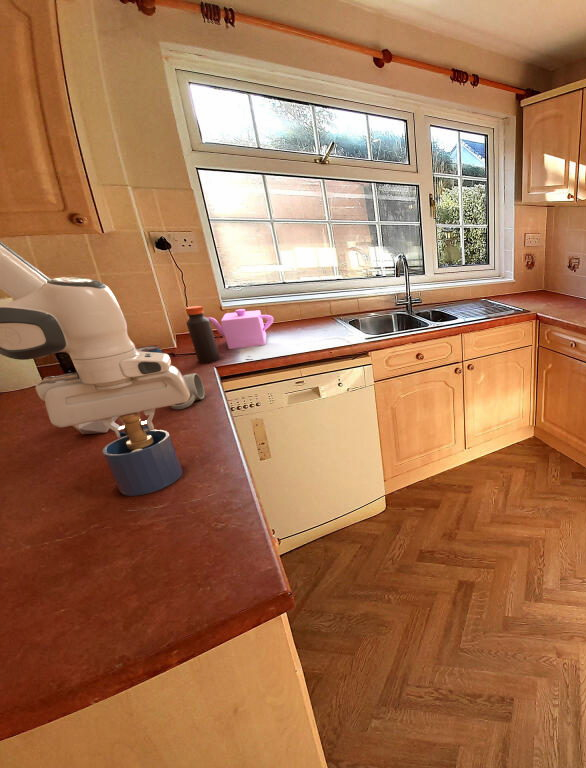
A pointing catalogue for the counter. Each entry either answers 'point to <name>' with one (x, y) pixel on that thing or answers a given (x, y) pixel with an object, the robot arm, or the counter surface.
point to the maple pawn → (135, 431)
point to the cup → (143, 464)
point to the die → (93, 427)
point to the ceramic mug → (192, 390)
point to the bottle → (202, 335)
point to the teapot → (243, 328)
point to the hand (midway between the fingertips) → (136, 432)
